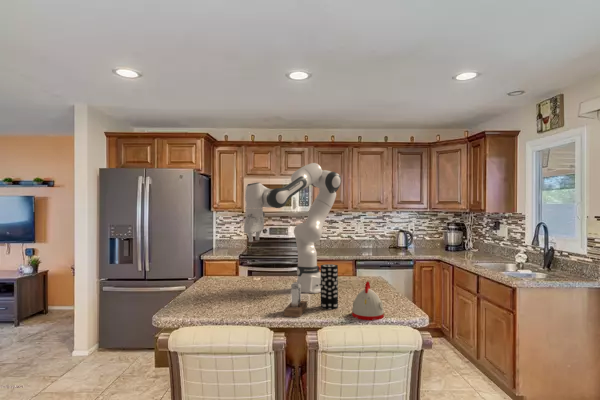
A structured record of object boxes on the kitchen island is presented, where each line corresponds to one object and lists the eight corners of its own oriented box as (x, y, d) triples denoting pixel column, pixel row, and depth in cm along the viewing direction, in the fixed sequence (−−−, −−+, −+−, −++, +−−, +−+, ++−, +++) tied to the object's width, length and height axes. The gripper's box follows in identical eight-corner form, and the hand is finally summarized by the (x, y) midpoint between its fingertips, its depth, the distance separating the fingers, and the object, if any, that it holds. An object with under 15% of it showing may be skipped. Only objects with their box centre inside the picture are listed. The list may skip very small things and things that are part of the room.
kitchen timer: (349, 318, 157) (348, 283, 157) (355, 309, 170) (355, 277, 170) (381, 321, 152) (381, 286, 152) (385, 312, 165) (385, 279, 165)
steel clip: (294, 309, 170) (294, 281, 171) (300, 309, 170) (300, 282, 170) (291, 313, 164) (291, 284, 164) (297, 313, 164) (297, 284, 164)
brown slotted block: (293, 306, 176) (292, 300, 176) (307, 307, 174) (307, 301, 174) (284, 316, 160) (284, 309, 160) (299, 317, 158) (299, 310, 158)
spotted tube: (320, 304, 178) (320, 264, 179) (337, 304, 178) (337, 264, 179) (321, 309, 170) (320, 266, 171) (338, 309, 170) (338, 267, 170)
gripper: (252, 214, 175) (253, 243, 174) (266, 213, 195) (266, 239, 194) (240, 214, 176) (240, 242, 176) (254, 213, 196) (254, 239, 196)
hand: (254, 240), depth 185 cm, fingers open, 8 cm apart
